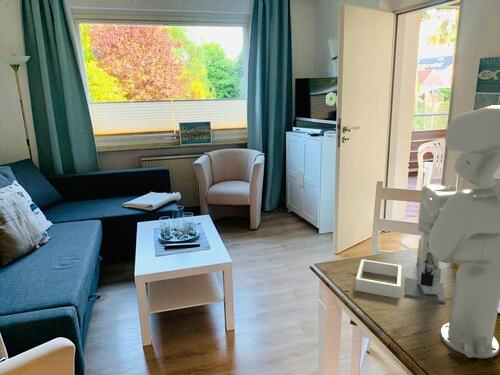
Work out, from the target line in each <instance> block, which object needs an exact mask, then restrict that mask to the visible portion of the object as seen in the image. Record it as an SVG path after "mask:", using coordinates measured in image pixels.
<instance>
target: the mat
mask: <svg viewBox="0 0 500 375" xmlns="http://www.w3.org/2000/svg"><path fill="white" fill-rule="evenodd" d="M404 280H405V281H404V297H407V298H413V299H417V300H423V301H429V302H434V303H440V304H446V297H445V292H444V286H443V285H444V284H443V283H441V282H440V289H439V294H438V295H436V294H424V292H423V291H422V289H421V287H420V285H419V283H418V282H417V279H416V278H411V277H410V278H409V277H405V279H404Z"/></svg>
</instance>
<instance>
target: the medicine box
mask: <svg viewBox="0 0 500 375" xmlns="http://www.w3.org/2000/svg"><path fill="white" fill-rule="evenodd" d="M425 263H427V262H425ZM425 268H427V266H425ZM417 270H418V271H417V282H418V283H419V285H420V287H421V289H422V291H423V292H424V294H436V295H438V294H439V289H440V283H441V276H442V268H441V267H440V265H439V266H438V267H436V266H435V265H434V269H433V274H434V276H433V285H432V287H430V286H424V285H421V274H422V272H423V264H422V263H421V258H419V264H418V268H417Z"/></svg>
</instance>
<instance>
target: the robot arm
mask: <svg viewBox="0 0 500 375" xmlns="http://www.w3.org/2000/svg"><path fill="white" fill-rule="evenodd" d="M444 135H445V137H444V140H445V145H446V147H447V148H448V149H449V151H451V152H453V153H457V154H458V156H457V158H456V159H455V162H454V166H453V167H454V170H455V172H456V175H458V176H459V177H460V178H461V179H462V180H464V181H466V182H467V183H470V184H472V185H474V187H473V188H468V189H466V188H465V189H461V190H457V191H456V190H455V191H451V190H450V188H449V187H447V186H445V185H442V184H436V183H432V184H431V183H430V184H425V185H424V186H423V187H422V189H421V193H420V194H421V195H420V200H419V202H420V203H419V210H418V211H419V213H418V219H417V220H418V221H417V231H419V232H420V233H421V235H420V237H421V243H420V257H421V263H422V264H423V272H422V274H421V285H424V286H430V287H432V285H433V276H434V274H433V269H434V265H435V266H436V267H438V266H439V267H440V262H441V263H444V264H456V263H461V265H460V266H459V268H458V270H457V273H456V277H455V278H454V284H453V292H452V299H451V306H450V314H449V319H448V323H445V324H443V325H442V326H441V329H440V337H441V339H442V340H443V342H444V343H445V344H446V345H447V346H448V347H450V348H451V349H453V350H454V351H456V352H458V353H460V354H463V355H464V356H466V357H467V358H469V359H471V358H472V359H473V358H476V359H490V358H493V357H495V356H496V355H498V354H499V350H500V343H499V342H498V340H497V339H496V337H495V336H494V334H495V329H496V324H497V319H498V318H497V317H498V312H499V306H500V180H498V182H496V180H495V178H494V174H495V173H496V172H497V170H498V169H499V168H500V104H497V105H496V104H495V105H490V106H486V107H482V108H478V109H475V110H472V111H468V112H464V113H461V114H459V115H457V116H456V117H454V118H453V120H451V121H450V122H449V124H448V126H447V127H446V130H445V134H444ZM425 262H427V263H425ZM425 266H427V268H425Z"/></svg>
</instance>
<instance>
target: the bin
mask: <svg viewBox="0 0 500 375" xmlns="http://www.w3.org/2000/svg"><path fill="white" fill-rule="evenodd" d="M364 272H366V273H371V274H372V273H373V274H379V275H384V276H390V277H396V284H395V283H389V282H386V281H384V282H383V281H379V280H372V279H367V278H363V275H364ZM401 282H402V265H401V264H395V263H391V262H389V263H388V262H381V261H375V260H368V259H361V260H360V263H359V267H358V270H357V273H356V277H355V288H354V291H355V292H356V291H357V292H363V293H367V294H373V295H378V296H383V297H390V298H395V299H400V296H401Z"/></svg>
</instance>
